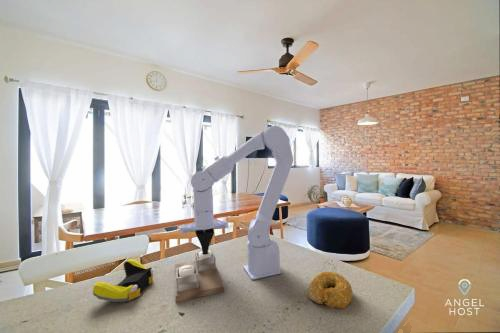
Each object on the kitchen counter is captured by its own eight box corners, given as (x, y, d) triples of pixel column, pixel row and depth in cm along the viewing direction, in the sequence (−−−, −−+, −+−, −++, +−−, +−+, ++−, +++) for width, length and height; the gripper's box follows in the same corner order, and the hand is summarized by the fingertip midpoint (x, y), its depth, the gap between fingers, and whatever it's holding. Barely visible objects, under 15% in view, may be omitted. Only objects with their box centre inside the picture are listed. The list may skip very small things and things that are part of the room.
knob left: (194, 277, 61) (193, 263, 61) (195, 285, 57) (195, 270, 57) (179, 280, 60) (178, 266, 60) (179, 288, 56) (179, 273, 56)
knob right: (210, 261, 71) (210, 249, 71) (213, 267, 67) (212, 254, 67) (198, 263, 69) (197, 251, 69) (199, 270, 66) (199, 256, 65)
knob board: (212, 262, 73) (212, 247, 73) (223, 291, 57) (223, 272, 57) (175, 269, 69) (174, 253, 69) (175, 302, 53) (175, 282, 53)
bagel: (300, 288, 58) (300, 270, 58) (336, 283, 61) (337, 266, 60) (319, 314, 49) (319, 294, 48) (362, 307, 51) (362, 287, 51)
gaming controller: (88, 308, 52) (128, 310, 51) (87, 286, 52) (127, 287, 51) (128, 274, 67) (160, 275, 66) (127, 257, 67) (159, 257, 66)
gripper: (223, 205, 74) (224, 244, 74) (178, 209, 69) (180, 251, 69) (229, 209, 67) (230, 253, 68) (179, 214, 62) (181, 261, 63)
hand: (205, 253), depth 68 cm, fingers closed, pressing on knob right
